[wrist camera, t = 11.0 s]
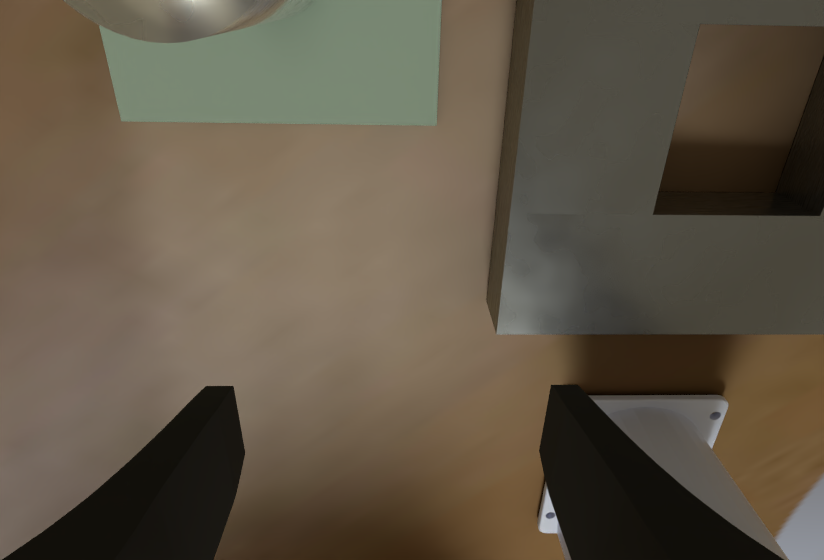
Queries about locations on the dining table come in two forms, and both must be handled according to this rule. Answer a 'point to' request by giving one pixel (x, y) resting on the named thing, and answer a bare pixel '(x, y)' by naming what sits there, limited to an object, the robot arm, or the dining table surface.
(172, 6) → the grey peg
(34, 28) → the dining table surface
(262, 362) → the dining table surface
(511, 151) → the socket block
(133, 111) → the mat
